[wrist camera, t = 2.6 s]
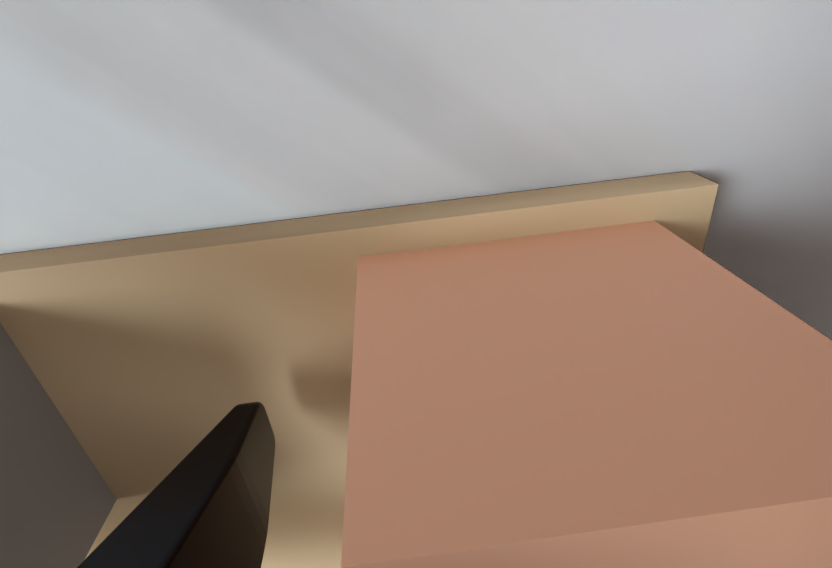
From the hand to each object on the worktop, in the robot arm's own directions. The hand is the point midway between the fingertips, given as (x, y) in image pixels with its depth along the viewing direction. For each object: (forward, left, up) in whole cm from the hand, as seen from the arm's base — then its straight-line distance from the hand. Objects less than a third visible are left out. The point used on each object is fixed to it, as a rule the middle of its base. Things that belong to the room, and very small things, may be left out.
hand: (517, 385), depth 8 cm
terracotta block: (0, 0, -1) cm, 1 cm away
